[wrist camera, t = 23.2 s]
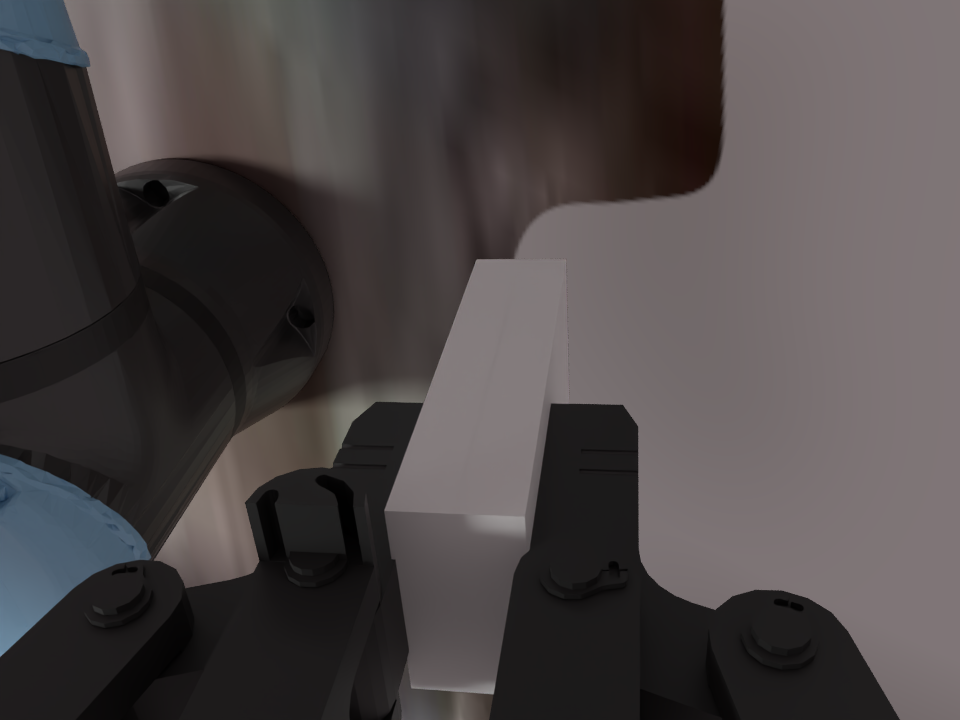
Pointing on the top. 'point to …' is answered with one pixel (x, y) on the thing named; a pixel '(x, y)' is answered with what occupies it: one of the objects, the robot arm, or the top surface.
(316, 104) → the top surface
